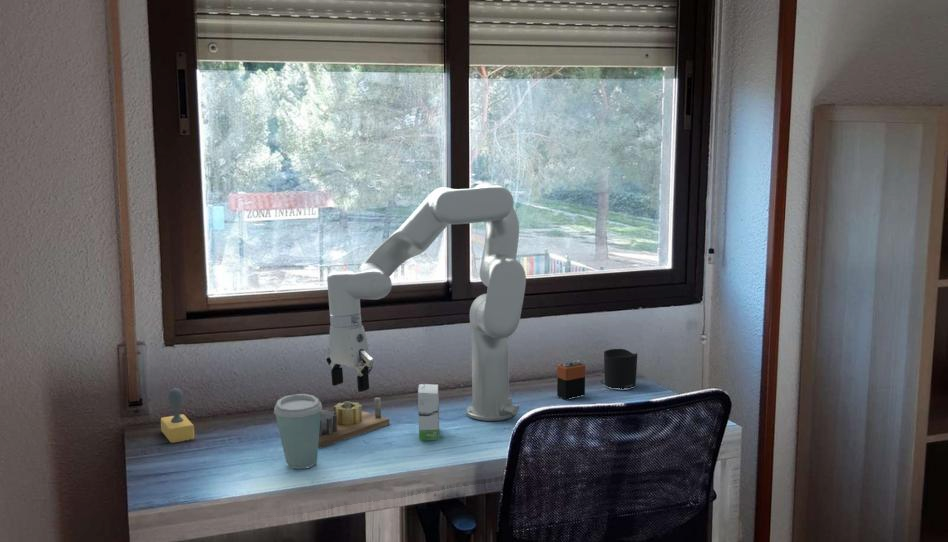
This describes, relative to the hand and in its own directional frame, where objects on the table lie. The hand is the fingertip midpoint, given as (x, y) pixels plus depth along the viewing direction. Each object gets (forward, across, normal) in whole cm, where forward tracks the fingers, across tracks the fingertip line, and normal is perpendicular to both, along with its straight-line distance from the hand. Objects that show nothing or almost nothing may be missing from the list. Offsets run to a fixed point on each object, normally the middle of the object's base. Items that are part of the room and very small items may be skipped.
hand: (350, 387), depth 234 cm
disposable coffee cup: (+10, -11, +25) cm, 29 cm away
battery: (+13, -27, -56) cm, 63 cm away
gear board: (+10, +1, +4) cm, 11 cm away
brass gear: (+9, +1, +1) cm, 9 cm away
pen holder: (+14, -32, -73) cm, 81 cm away
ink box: (+11, -19, -8) cm, 23 cm away
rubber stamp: (+9, +28, +32) cm, 44 cm away
